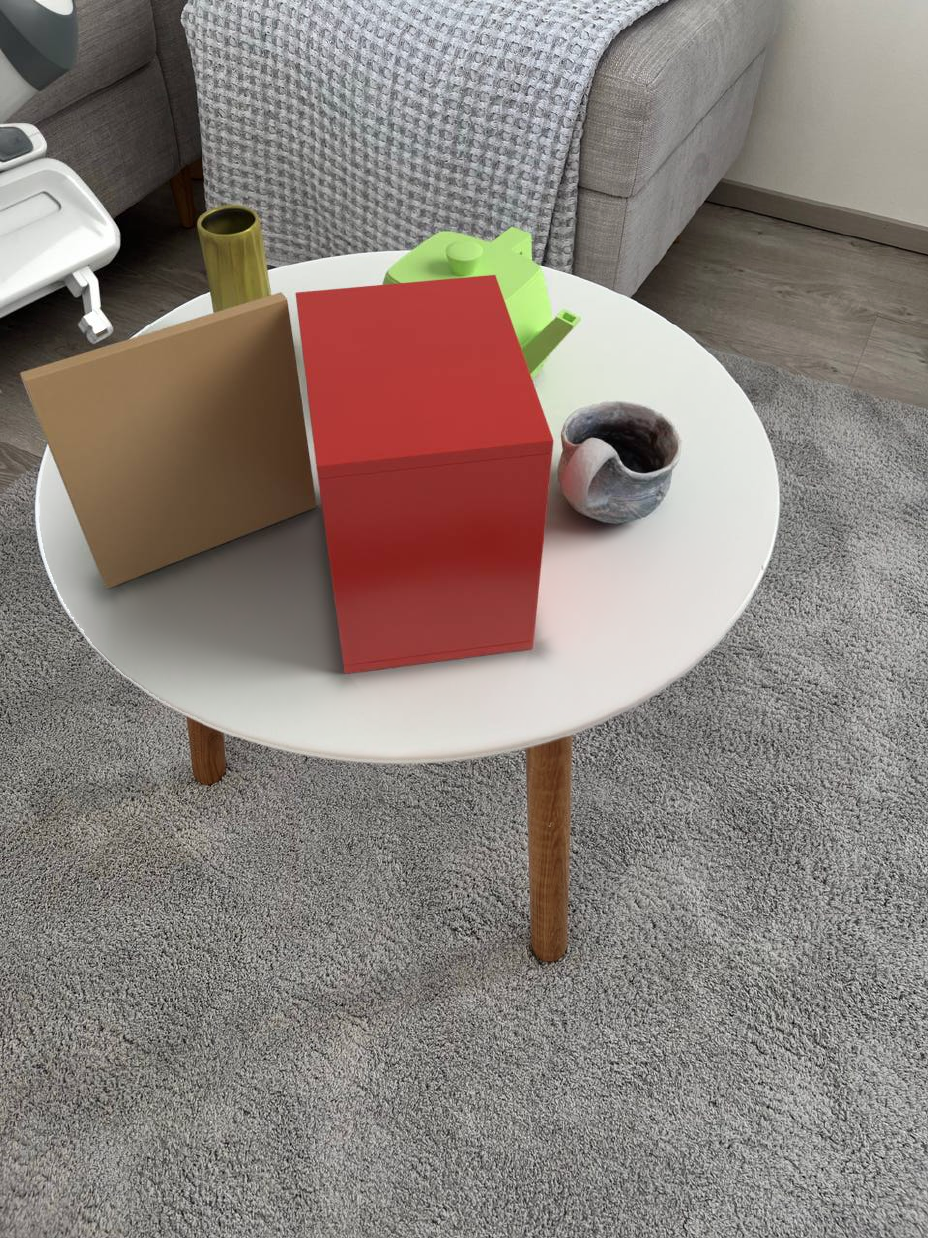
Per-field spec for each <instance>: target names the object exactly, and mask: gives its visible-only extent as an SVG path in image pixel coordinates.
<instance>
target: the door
mask: <svg viewBox="0 0 928 1238" xmlns="http://www.w3.org/2000/svg"><path fill="white" fill-rule="evenodd" d="M288 301H289V300H288V298H287V297H286V295H284V293H283V292H281V291H279V292H277V293H273V294H271V295H270V296H267V297H264V298H261V299H257V300H254V301H251V302H248V303H244V304H241V305H238V306H235V307H231V308H228V309H225V310H222V311H219V312H215V313H214V312H213V313H212V312H211V313H209V314H206V315H203V316H199V317H196V318H193V319H190V320H185V321H184V322H180V323H177V324H174V325H171V326H166V327H164V328H161V329H158V330H154V331H150V332H147V333H145V334H141V335H138V336H135V337H131V338H128V339H125V340H121V341H118V342H116V343H112V344H109V345H106V346H103V347H99V348H96V349H93V350H90V351H89V350H88V351H86V352H83V353H80V354H77V355H73V356H70V357H67V358H63V359H61V360H58V361H54V362H50V363H47V364H44V365H40V366H38V367H33V368H30V369H28V370H24V371H22V372H19V375H20V377H21V380H22V383H23V385H24V388H25V390H26V393H27V395H28V398H29V399H30V403H31V406H32V409H33V410H34V411H33V412H34V414H35V416H36V418H37V420H38V423H39V426H40V428H41V431H42V433H43V435H44V438H45V440H46V443H47V446H48V448H49V451H50V453H51V456H52V458H53V461H54V463H55V466H56V468H57V471H58V474H59V476H60V478H61V481H62V483H63V486H64V488H65V491H66V493H67V496H68V499H69V501H70V504H71V506H72V508H73V512H74V514H75V516H76V518H77V521H78V524H79V527H80V529H81V531H82V534H83V536H84V538H85V541H86V544H87V546H88V549H89V551H90V554H91V556H92V559H93V561H94V564H95V567H96V569H97V571H98V573H99V576H100V579H101V582H102V584H103V585H104V588H105V589H106V590H108V589H111V588H113V587H116V586H119V585H121V584H124V583H126V582H129V581H132V580H133V579H136V578H138V577H141V576H145V575H147V574H149V573H151V572H152V573H153V572H154V571H157V570H159V569H162V568H164V567H167V566H169V565H172V564H175V563H177V562H179V561H182V560H185V559H187V558H189V557H192V556H195V555H198V554H200V553H202V552H205V551H208V550H211V549H213V548H216V547H219V546H220V545H224V544H226V543H228V542H231V541H233V540H236V539H239V538H241V537H244V536H246V535H249V534H252V533H254V532H257V531H259V530H262V529H265V528H266V527H270V526H272V525H274V524H277V523H280V522H282V521H285V520H288V519H289V518H292V517H295V516H297V515H299V514H303V513H305V512H307V511H310V510H314V509H316V508H317V499H316V491H315V483H314V477H313V469H312V463H311V456H310V449H309V443H308V435H307V428H306V427H307V426H306V421H305V413H304V408H303V401H302V393H301V387H300V380H299V379H300V378H299V371H298V365H297V358H296V357H297V356H296V352H295V351H296V350H295V344H294V343H295V342H294V338H293V337H294V336H293V330H292V323H291V316H290V309H289V302H288Z"/></svg>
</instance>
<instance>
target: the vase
mask: <svg viewBox="0 0 928 1238" xmlns="http://www.w3.org/2000/svg"><path fill="white" fill-rule="evenodd" d="M196 224H197V232H198V236H199V241H200V247H201V251H202V256H203V262H204V267H205V272H206V278H207V283H208V284H207V285H208V288H209V295H210V300H211V305H212V311H213V313H215V312H219V311H222V310H225V309H228V308H231V307H235V306H238V305H241V304H244V303H248V302H251V301H254V300H257V299H261V298H264V297H267V296H270V295H272V290H271V289H272V288H271V285H270V278H269V271H268V264H267V257H266V251H265V242H264V236H263V230H262V225H261V224H262V223H261V220H260V217H259V215H258V214H257V212H256V211H255V210H254V209H252V208H250V207H248V206H244V205H241V204H240V205H239V204H227V205H220V206H217V207H213V208H211V209H208V210H207V211H205V212H204V213H202V214H201V215H200V216H199V217H198V220H197V222H196Z"/></svg>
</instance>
